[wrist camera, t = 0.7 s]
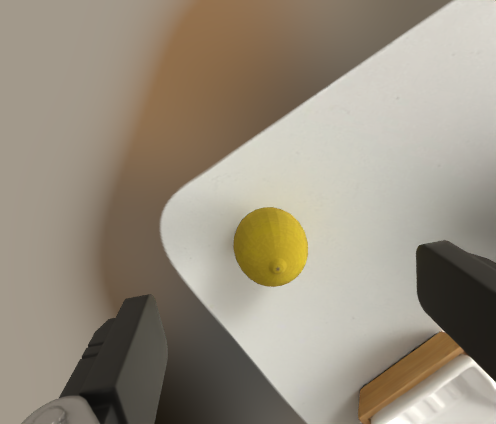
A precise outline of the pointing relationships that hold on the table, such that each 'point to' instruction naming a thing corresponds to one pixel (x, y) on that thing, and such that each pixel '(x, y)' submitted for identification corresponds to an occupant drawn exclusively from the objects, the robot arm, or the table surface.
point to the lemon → (270, 246)
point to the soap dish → (431, 389)
